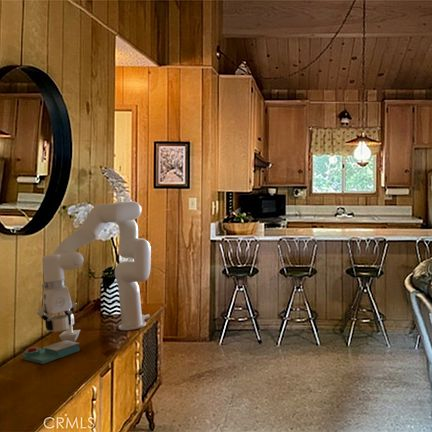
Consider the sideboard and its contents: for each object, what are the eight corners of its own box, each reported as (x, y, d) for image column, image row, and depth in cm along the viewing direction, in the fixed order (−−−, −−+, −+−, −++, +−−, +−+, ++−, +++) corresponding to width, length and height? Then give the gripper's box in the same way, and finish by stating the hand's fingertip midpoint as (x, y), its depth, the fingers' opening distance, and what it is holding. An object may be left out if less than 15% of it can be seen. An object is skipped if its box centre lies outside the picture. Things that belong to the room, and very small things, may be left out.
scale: (59, 346, 211) (58, 339, 211) (79, 350, 203) (78, 343, 203) (22, 359, 198) (21, 351, 198) (42, 364, 190) (41, 356, 190)
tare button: (34, 349, 201) (34, 345, 201) (39, 350, 199) (38, 346, 199) (26, 352, 198) (26, 348, 198) (31, 353, 196) (30, 349, 196)
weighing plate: (66, 348, 208) (65, 339, 208) (80, 351, 203) (79, 342, 203) (43, 355, 200) (42, 347, 200) (57, 359, 195) (56, 350, 194)
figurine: (81, 336, 224) (78, 304, 223) (76, 343, 214) (72, 309, 213) (65, 338, 222) (61, 306, 221) (58, 345, 213) (55, 311, 212)
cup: (62, 325, 206) (61, 314, 205) (72, 327, 202) (71, 315, 201) (45, 330, 200) (44, 318, 199) (56, 332, 196) (54, 320, 195)
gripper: (39, 289, 190) (43, 334, 191) (79, 280, 205) (83, 322, 206) (28, 288, 194) (33, 332, 195) (69, 280, 209) (72, 320, 210)
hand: (59, 326), depth 201 cm, fingers closed on cup, 7 cm apart
